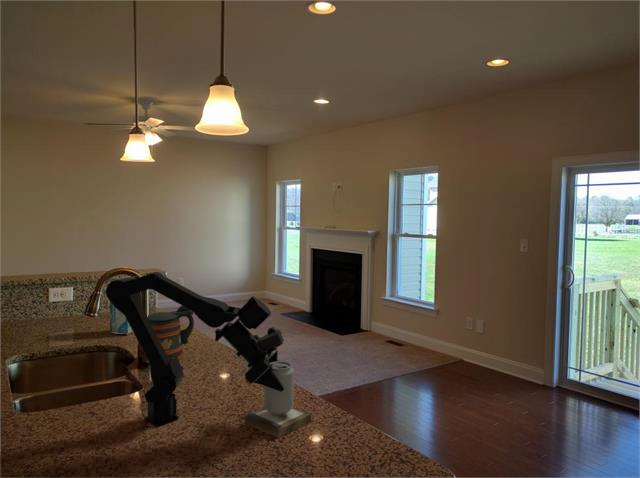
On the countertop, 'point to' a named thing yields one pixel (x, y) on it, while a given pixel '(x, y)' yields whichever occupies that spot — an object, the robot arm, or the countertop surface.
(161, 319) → the beer stein
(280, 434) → the grey flat square slab
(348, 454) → the countertop surface
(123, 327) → the milk carton
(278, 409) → the can
